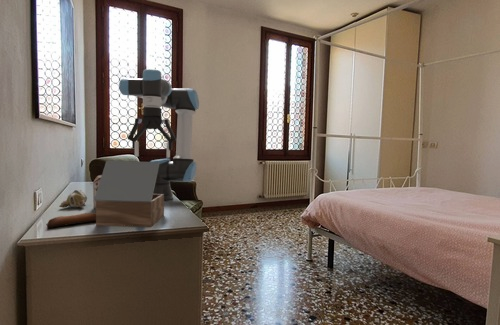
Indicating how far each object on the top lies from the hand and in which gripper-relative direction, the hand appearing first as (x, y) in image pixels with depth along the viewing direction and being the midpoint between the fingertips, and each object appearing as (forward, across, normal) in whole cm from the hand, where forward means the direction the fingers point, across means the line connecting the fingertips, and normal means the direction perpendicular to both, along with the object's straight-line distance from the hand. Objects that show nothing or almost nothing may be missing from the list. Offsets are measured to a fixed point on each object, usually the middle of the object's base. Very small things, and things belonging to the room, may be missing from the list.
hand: (152, 157), depth 130 cm
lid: (+10, -8, -6) cm, 14 cm away
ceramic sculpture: (+28, -44, +19) cm, 56 cm away
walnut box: (+27, -8, -3) cm, 29 cm away
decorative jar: (+28, -28, +22) cm, 45 cm away
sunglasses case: (+28, -30, -10) cm, 42 cm away
